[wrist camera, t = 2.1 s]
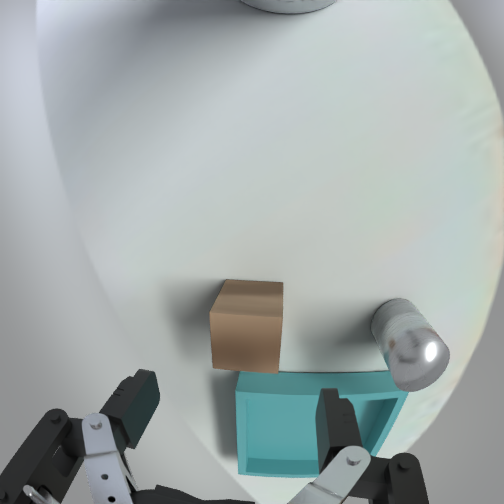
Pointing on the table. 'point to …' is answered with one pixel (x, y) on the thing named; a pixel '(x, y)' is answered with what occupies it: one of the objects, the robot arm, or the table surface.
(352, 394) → the parts tray
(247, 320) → the walnut block
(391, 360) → the metal cylinder
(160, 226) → the table surface
